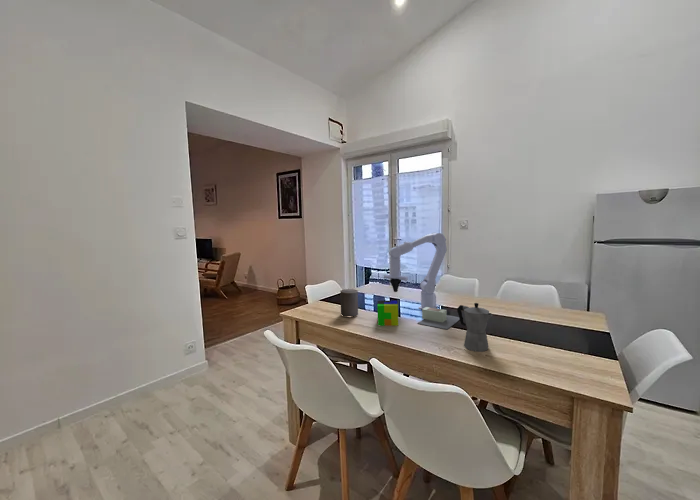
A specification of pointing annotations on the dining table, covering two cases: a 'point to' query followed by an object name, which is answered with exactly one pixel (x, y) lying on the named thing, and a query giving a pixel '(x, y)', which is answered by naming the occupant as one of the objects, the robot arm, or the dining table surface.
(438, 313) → the tall block
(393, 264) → the robot arm
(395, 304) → the puzzle toy
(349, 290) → the pillar candle
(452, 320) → the mat
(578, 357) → the dining table surface
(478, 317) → the coffeepot
